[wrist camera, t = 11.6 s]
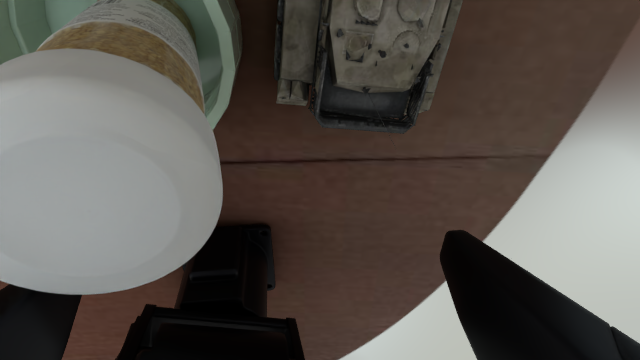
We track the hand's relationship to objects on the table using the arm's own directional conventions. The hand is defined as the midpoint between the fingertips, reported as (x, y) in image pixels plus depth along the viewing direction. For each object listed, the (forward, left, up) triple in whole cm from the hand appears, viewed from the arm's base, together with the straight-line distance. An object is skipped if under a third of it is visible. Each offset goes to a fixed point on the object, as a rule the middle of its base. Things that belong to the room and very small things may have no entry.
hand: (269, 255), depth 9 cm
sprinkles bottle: (+3, +6, -12) cm, 14 cm away
